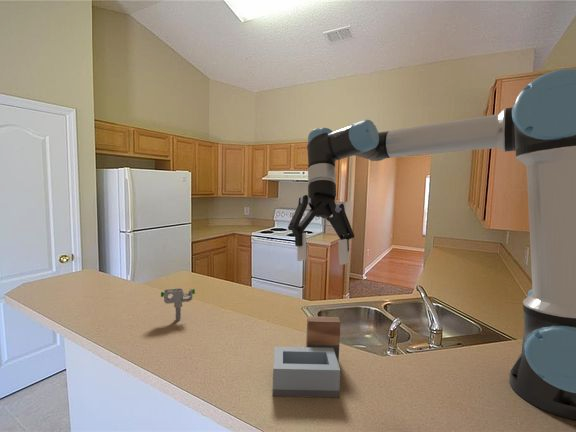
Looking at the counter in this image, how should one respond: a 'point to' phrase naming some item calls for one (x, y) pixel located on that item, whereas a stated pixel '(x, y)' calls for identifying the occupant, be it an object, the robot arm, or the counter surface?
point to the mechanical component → (177, 299)
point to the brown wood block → (323, 333)
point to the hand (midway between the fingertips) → (323, 262)
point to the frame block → (305, 372)
